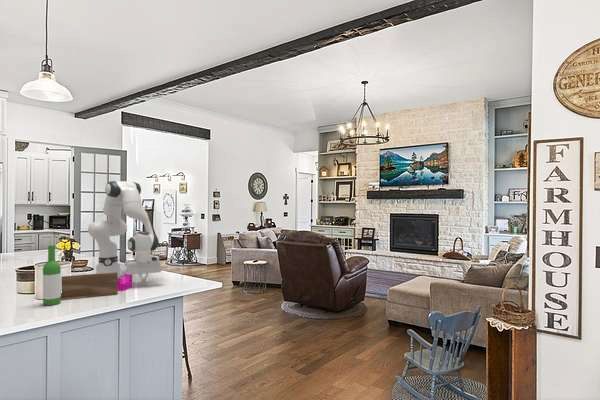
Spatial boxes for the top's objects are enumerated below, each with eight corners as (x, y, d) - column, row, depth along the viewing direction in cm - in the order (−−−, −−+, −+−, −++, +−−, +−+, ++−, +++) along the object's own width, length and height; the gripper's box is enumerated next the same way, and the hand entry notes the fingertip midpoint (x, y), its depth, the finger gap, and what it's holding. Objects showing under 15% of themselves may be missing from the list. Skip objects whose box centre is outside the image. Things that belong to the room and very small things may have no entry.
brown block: (62, 294, 212) (62, 273, 212) (118, 289, 224) (117, 269, 224) (58, 300, 200) (58, 277, 200) (117, 294, 212) (117, 273, 212)
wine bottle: (53, 301, 199) (52, 244, 199) (64, 302, 196) (64, 244, 196) (39, 305, 191) (38, 246, 191) (50, 306, 189) (50, 246, 189)
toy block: (123, 291, 220) (123, 278, 220) (113, 291, 221) (113, 278, 221) (136, 285, 235) (136, 273, 235) (126, 285, 236) (126, 273, 236)
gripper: (124, 260, 224) (125, 283, 224) (161, 257, 233) (161, 280, 233) (124, 258, 230) (125, 281, 230) (160, 256, 238) (160, 278, 238)
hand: (143, 280), depth 231 cm, fingers closed
